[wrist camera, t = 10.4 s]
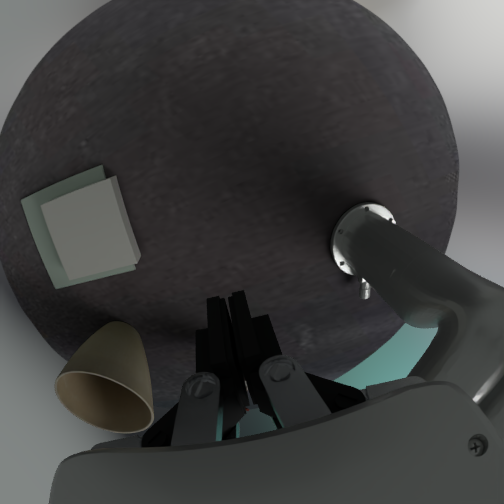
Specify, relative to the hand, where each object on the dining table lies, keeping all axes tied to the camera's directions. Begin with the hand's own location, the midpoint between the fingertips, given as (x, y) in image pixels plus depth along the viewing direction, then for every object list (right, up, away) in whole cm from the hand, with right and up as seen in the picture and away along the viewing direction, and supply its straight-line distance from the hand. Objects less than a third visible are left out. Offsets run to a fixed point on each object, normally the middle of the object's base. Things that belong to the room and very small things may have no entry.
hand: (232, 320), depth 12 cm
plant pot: (-22, -12, +32) cm, 40 cm away
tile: (-16, +7, +22) cm, 28 cm away
